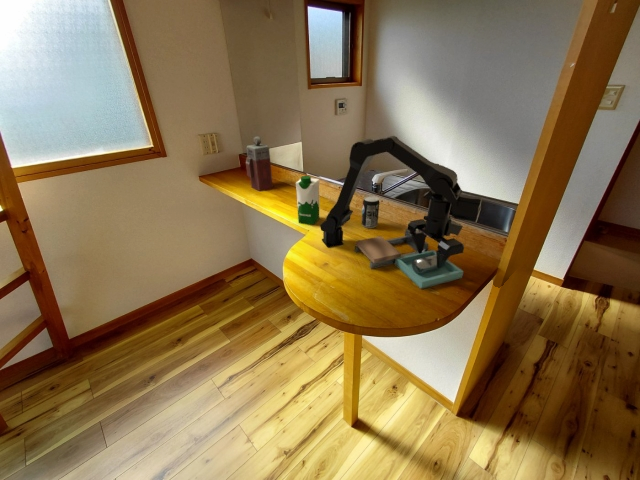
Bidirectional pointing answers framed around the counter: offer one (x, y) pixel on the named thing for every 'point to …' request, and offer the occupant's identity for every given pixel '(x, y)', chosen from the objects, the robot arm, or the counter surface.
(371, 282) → the counter surface
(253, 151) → the maroon lidded pitcher
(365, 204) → the beverage can
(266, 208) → the counter surface
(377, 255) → the board
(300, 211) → the milk carton
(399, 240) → the track
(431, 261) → the roller
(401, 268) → the tray
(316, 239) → the counter surface
